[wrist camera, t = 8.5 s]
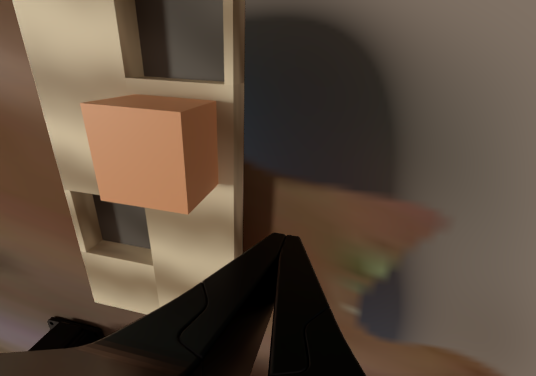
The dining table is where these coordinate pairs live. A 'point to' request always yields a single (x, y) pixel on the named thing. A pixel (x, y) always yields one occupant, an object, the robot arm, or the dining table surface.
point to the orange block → (153, 150)
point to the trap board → (143, 83)
